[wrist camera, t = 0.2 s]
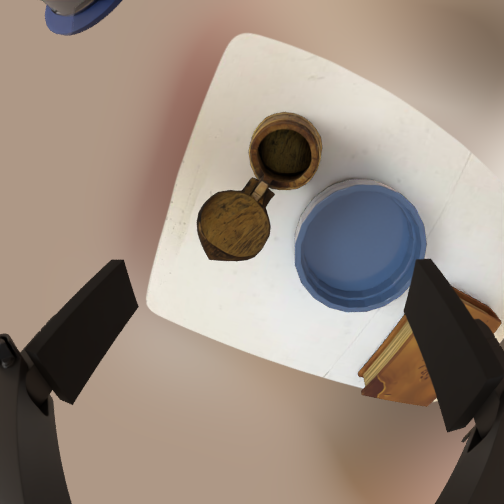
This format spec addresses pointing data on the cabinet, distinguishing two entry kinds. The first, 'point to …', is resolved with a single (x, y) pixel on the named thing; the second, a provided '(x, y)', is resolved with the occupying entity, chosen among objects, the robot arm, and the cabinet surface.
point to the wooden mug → (259, 187)
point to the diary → (410, 361)
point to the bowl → (358, 245)
